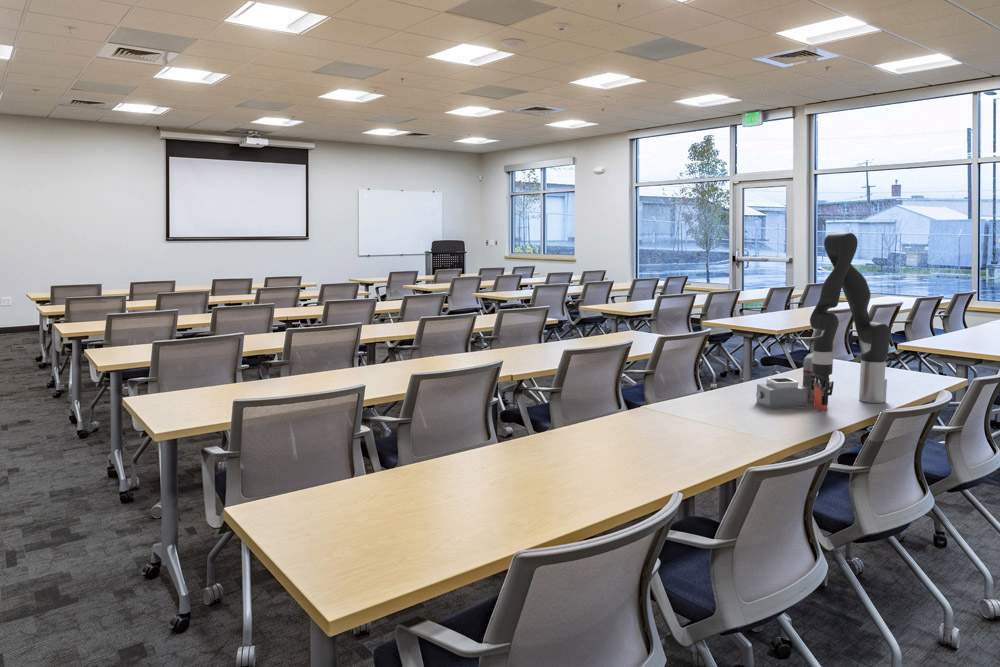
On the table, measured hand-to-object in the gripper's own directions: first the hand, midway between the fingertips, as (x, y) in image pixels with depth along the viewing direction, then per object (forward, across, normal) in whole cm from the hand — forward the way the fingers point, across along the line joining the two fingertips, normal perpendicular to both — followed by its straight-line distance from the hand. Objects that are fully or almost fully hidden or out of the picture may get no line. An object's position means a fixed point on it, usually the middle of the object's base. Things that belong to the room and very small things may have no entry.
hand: (820, 403), depth 288 cm
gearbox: (+2, +9, +12) cm, 15 cm away
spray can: (+3, +14, -4) cm, 15 cm away
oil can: (+2, 0, 0) cm, 2 cm away
